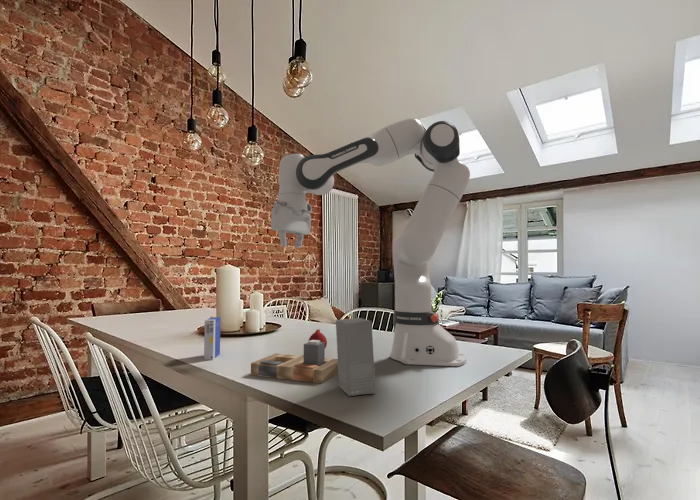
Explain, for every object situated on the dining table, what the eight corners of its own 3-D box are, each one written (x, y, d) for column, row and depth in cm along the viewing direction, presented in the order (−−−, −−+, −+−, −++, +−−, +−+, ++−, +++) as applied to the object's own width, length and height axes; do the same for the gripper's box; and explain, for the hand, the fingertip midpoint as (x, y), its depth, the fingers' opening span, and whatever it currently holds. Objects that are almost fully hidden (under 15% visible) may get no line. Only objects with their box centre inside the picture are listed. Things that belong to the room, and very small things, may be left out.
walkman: (211, 354, 124) (211, 316, 124) (219, 354, 124) (220, 315, 124) (203, 360, 116) (204, 319, 116) (212, 359, 116) (213, 319, 117)
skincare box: (376, 394, 85) (376, 321, 85) (344, 397, 83) (344, 322, 83) (363, 383, 93) (363, 316, 93) (334, 386, 91) (335, 317, 91)
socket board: (340, 370, 104) (340, 357, 104) (321, 383, 93) (321, 369, 93) (275, 364, 111) (275, 352, 111) (250, 375, 100) (250, 361, 100)
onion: (319, 357, 119) (319, 331, 119) (304, 355, 122) (304, 329, 122) (330, 354, 124) (330, 328, 124) (315, 352, 127) (315, 327, 127)
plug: (324, 373, 101) (324, 340, 102) (317, 377, 98) (317, 342, 98) (310, 372, 103) (310, 339, 103) (303, 376, 99) (303, 341, 99)
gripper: (284, 198, 116) (283, 244, 116) (314, 208, 136) (313, 248, 135) (265, 199, 119) (265, 245, 118) (297, 209, 138) (297, 248, 137)
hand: (291, 246), depth 127 cm, fingers open, 8 cm apart
